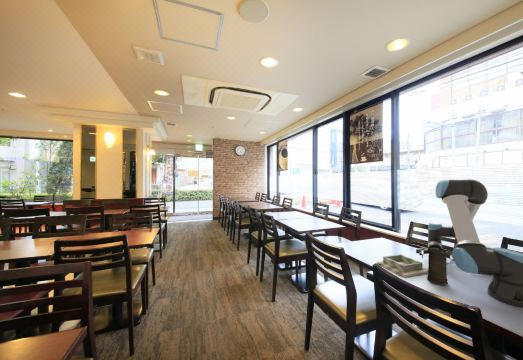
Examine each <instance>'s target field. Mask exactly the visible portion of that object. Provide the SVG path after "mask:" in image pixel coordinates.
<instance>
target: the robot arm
mask: <svg viewBox="0 0 523 360" xmlns="http://www.w3.org/2000/svg"><path fill="white" fill-rule="evenodd" d="M488 194H489V193H488V189H487V188H486V186H485V185H484V184H483V182H480V181H478V180H476V179H471V178H470V179H469V178H466V179H462V178H461V179H459V178H457V179H456V178H455V179H454V178H453V179H450V178H447V179H446V178H445V179H440V180H438V182H437V183H436V187H435V197H436V198H438V199H441V201H442V203H444V204H445V205H446V207H447V210H448V211H447V212H448V214H449V217H450V220H451V224H452V225H451V226H444V225H442V223H441V222H440V223H439V222H429V223H428V226H427V233H428V234H427V248H426V247H425V246H422V247H420V248H416V249H415V251H416V254H419V256H421V259H424V255H429V252H428V248H439V249H443V247H442V245H443V244H442V241H443V238H449V239H452V238H453V239H456V241H457V243H456V244H455V245H454V247H455V248H452V250H451V251H452V252H450V251H449V250H446V251H447V256H446V259H449V260H450V261H449V262H450V264H455V266H456V267H457V268H458V269H459V270H460V271H462V272H465V273H469V274H473V275H484V276H492V279H491V281H490V283H489V285H488V286H487V294H488V295H489V296H490V297H492V298H494V299H495V300H498V301H499V302H502V303H505V304H507V305H511V306H515V307H520V308H523V252H519V251H515V250H512V249H507V248H503V247H493V248H494V249H493V251H487V249H486V246H487V245H485V244H484V243H482V242H480V238H479V235H478V233H477V231H476V227H475V225H474V218H475V216H476V215H477V213H478V211H479V210H480V207H481V206H482V205H484V204H486V201H487V200H488V196H489V195H488Z"/></svg>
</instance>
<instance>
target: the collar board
mask: <svg viewBox="0 0 523 360" xmlns="http://www.w3.org/2000/svg"><path fill="white" fill-rule="evenodd" d="M377 263H378V264H377ZM376 264H377V265H379V264H380V265H379V266H380V267H383V268H385V269H387V270H389V271H391V272H393V273H394V274H397V275H399V276H401V277H403V278H410V277H415V276H420V275H426V274H427V275H428V269H427V268H426V267H425V268H424V267H423V265H424V264H423V262H421V261H419V260H416V259H414V258H412V257H409V256H406V255H404V254H402V253H401V254H394V255H387V256H386V255H385V256H383V258H382V260H379V261H377V262H376Z"/></svg>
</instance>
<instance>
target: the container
mask: <svg viewBox="0 0 523 360" xmlns="http://www.w3.org/2000/svg"><path fill="white" fill-rule="evenodd" d="M427 249H428V252H429V254H427V255H428V256H427V258H428V263H427V264H428V267H427V268H428V269H427V270H428V273H427V277H426V279H427V281H428V282H429V283H432V284H435V285H438V286H448V284H449V280H448V273H447V272H448V271H447V265H448V264H447V259H448V258H446V256H447V251H448V250H445V249H443V248H442V249H439V248H428V247H427Z"/></svg>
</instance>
